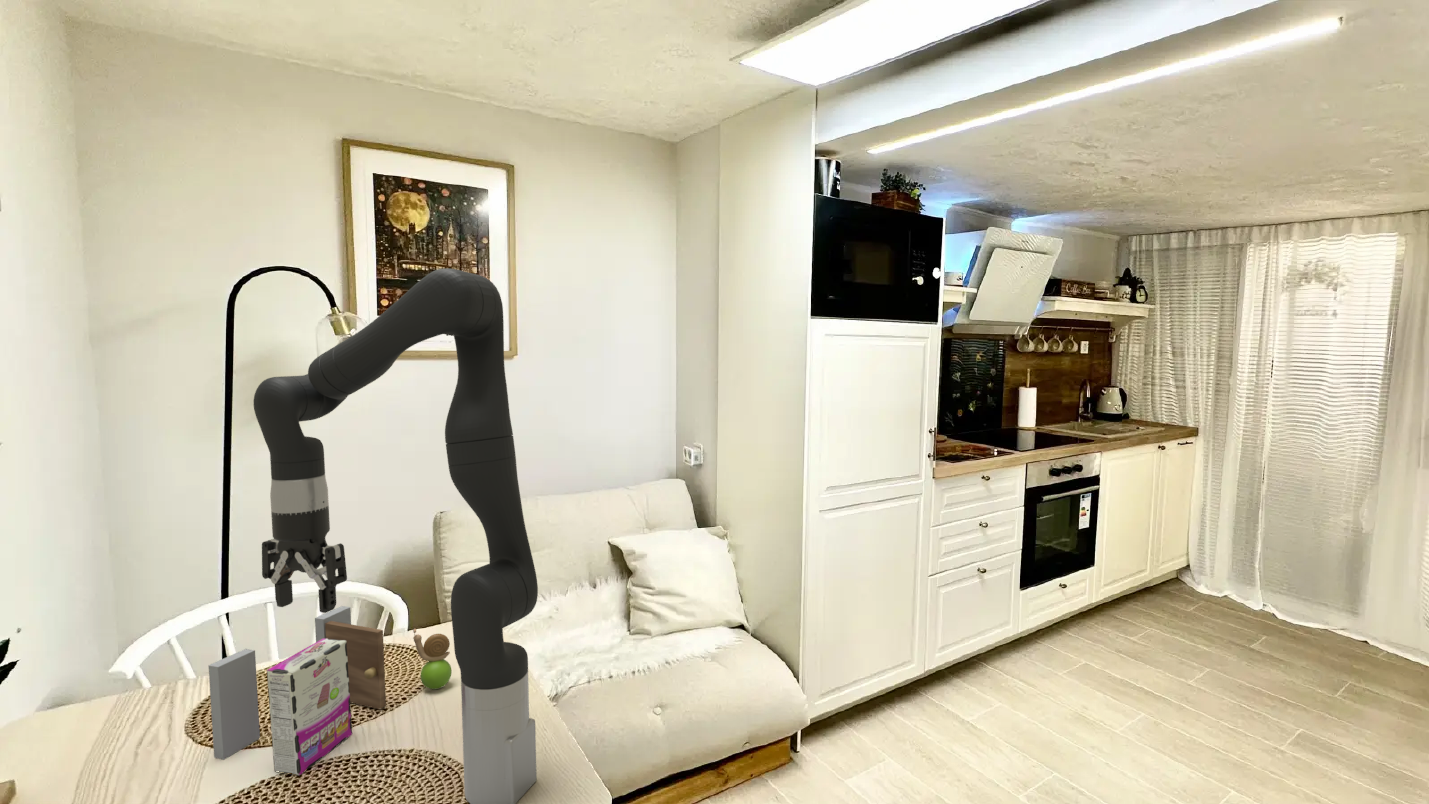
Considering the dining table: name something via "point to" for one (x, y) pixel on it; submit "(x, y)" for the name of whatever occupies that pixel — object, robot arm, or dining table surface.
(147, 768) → the dining table surface
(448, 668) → the snail figurine
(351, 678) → the door
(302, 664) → the candy bar box
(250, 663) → the door frame
